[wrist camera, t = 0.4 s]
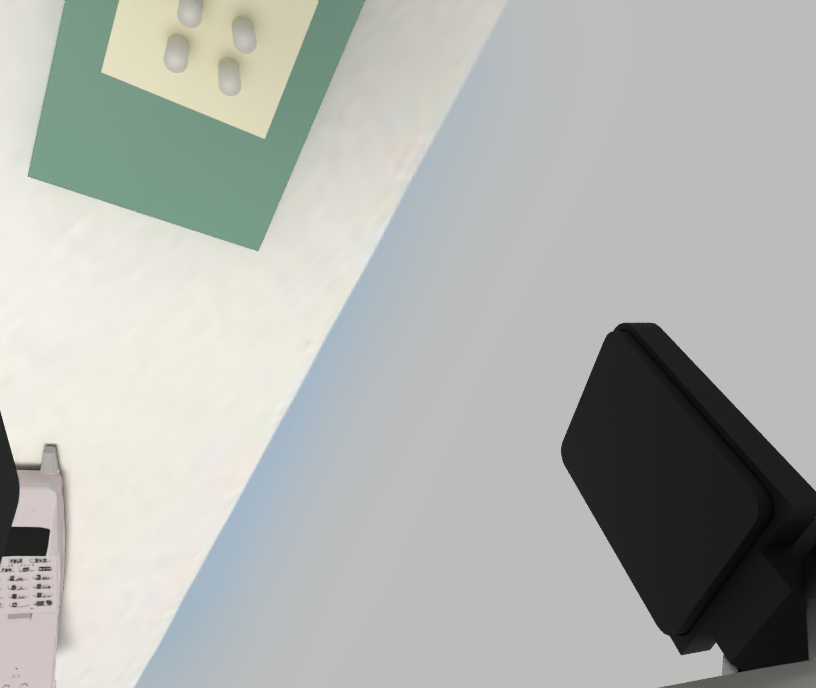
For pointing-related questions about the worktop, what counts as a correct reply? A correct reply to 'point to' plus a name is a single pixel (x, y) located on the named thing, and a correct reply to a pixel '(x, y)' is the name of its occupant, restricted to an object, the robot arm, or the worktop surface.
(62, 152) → the header board
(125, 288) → the worktop surface
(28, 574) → the mobile phone
